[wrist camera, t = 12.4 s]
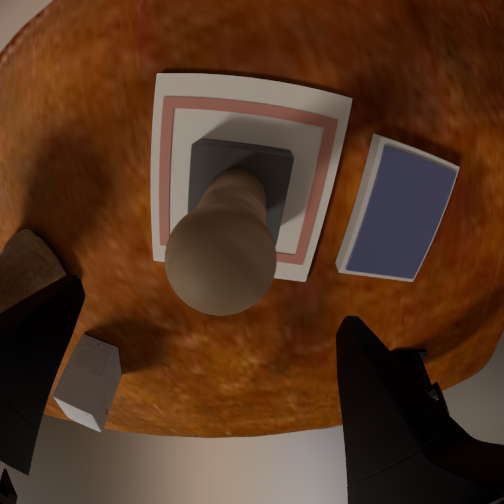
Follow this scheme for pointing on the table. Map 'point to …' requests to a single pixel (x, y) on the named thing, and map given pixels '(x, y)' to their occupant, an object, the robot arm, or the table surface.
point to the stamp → (229, 225)
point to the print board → (254, 132)
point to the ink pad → (396, 211)
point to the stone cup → (26, 268)
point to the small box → (89, 382)
